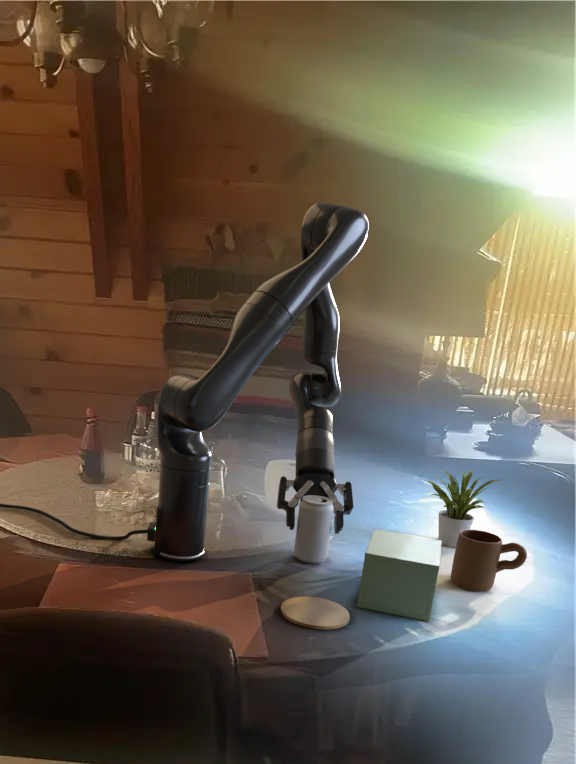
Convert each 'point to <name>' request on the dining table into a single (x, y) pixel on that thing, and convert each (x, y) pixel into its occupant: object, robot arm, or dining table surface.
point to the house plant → (457, 507)
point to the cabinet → (400, 574)
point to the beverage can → (313, 529)
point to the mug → (482, 559)
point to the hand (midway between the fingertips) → (314, 530)
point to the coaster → (315, 613)
